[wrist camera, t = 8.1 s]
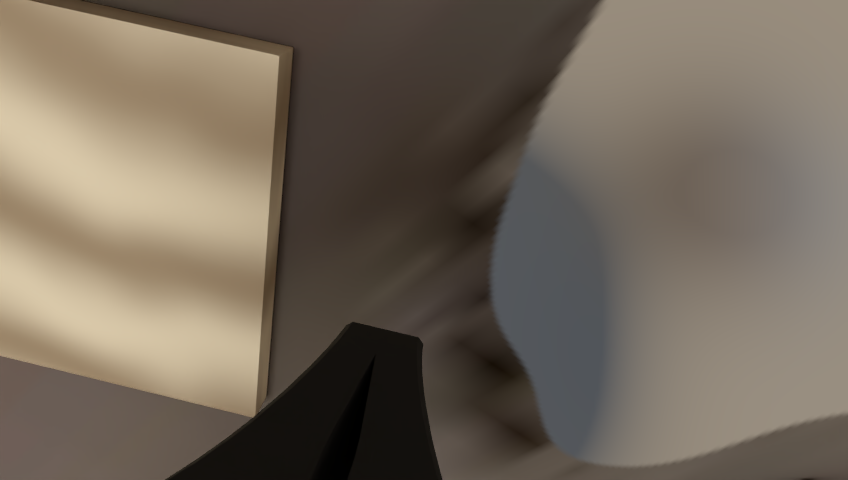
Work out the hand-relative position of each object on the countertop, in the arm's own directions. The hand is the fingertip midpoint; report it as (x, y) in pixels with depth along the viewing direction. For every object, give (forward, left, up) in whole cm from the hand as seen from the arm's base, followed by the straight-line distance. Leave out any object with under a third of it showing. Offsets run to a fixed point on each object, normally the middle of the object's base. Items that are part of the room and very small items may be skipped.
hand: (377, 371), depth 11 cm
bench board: (-4, +17, -9) cm, 20 cm away
